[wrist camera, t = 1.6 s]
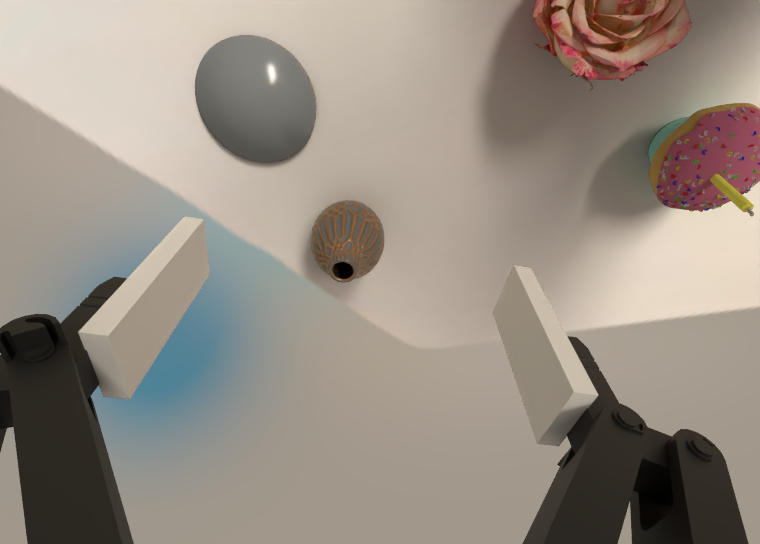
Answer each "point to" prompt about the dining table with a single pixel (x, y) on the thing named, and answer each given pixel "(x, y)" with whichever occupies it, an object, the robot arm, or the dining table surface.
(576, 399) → the robot arm
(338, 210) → the vase
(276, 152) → the grey flat disc
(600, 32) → the flower
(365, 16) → the dining table surface
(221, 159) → the dining table surface
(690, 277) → the dining table surface
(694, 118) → the cupcake
